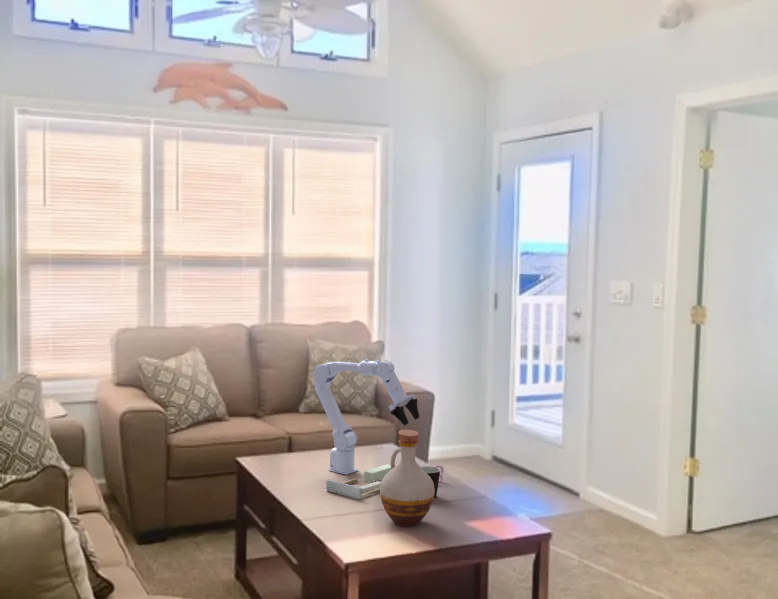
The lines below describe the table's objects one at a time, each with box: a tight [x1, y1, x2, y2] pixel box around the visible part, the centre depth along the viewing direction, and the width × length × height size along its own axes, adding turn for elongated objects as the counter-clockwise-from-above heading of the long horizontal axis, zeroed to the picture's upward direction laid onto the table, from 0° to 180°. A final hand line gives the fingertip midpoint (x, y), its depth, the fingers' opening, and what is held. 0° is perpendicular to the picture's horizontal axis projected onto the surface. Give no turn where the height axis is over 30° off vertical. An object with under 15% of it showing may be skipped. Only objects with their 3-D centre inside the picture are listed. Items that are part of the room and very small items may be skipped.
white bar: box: [360, 480, 381, 494], centre depth 296 cm, size 2×14×2 cm, turn 139°
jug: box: [379, 429, 435, 528], centre depth 264 cm, size 20×18×30 cm
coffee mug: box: [420, 465, 441, 499], centre depth 292 cm, size 12×9×10 cm
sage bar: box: [363, 463, 391, 483], centre depth 314 cm, size 4×14×4 cm, turn 141°
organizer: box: [325, 477, 380, 500], centre depth 297 cm, size 16×16×4 cm
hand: (412, 421), depth 310 cm, fingers open, 7 cm apart
